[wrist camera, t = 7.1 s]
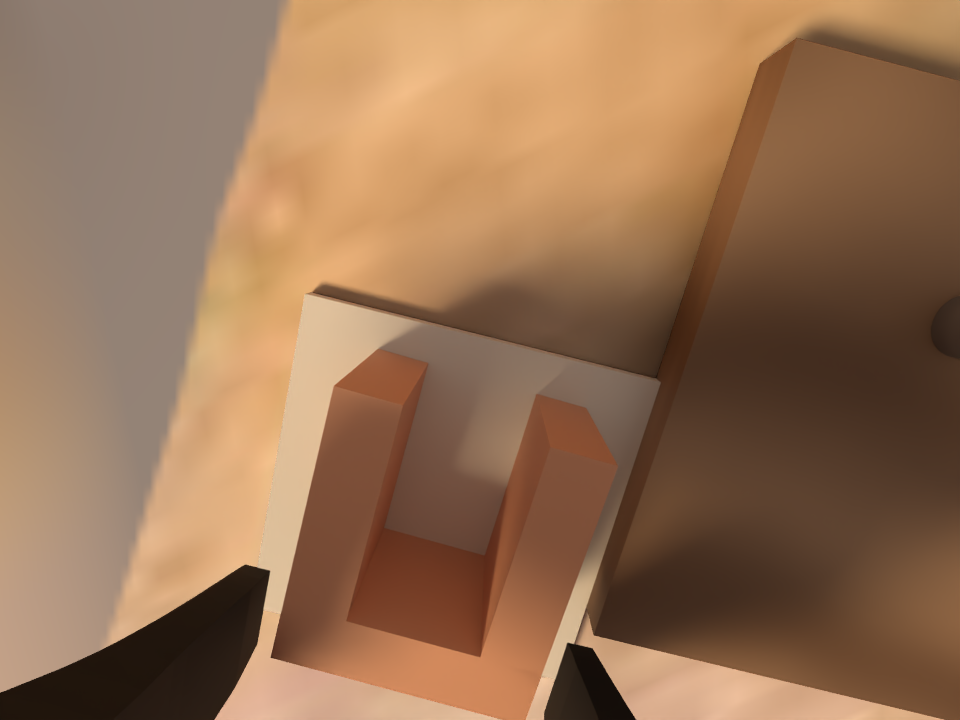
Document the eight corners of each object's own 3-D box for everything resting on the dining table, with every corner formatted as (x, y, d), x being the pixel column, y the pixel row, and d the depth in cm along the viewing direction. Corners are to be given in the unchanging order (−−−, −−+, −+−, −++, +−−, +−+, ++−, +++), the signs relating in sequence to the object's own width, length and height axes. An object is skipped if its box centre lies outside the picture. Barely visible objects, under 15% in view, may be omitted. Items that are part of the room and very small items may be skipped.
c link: (517, 609, 14) (523, 725, 11) (327, 556, 14) (270, 657, 11) (586, 407, 13) (618, 466, 10) (377, 348, 13) (333, 385, 10)
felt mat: (559, 670, 15) (561, 681, 15) (256, 597, 15) (250, 607, 15) (656, 378, 13) (660, 382, 13) (310, 292, 13) (305, 293, 13)
